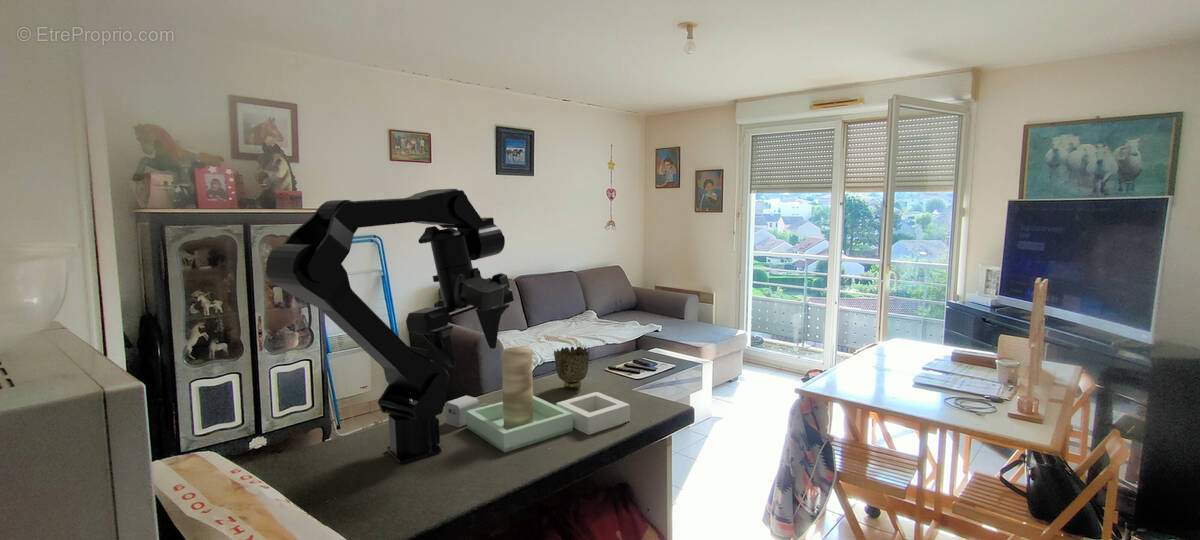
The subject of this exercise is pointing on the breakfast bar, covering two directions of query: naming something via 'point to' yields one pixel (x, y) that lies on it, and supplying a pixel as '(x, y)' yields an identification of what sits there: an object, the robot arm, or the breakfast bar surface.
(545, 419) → the pale green tray
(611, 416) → the white square frame
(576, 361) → the cup
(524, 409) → the beech dowel
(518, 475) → the breakfast bar surface
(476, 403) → the usb wall charger
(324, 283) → the robot arm
